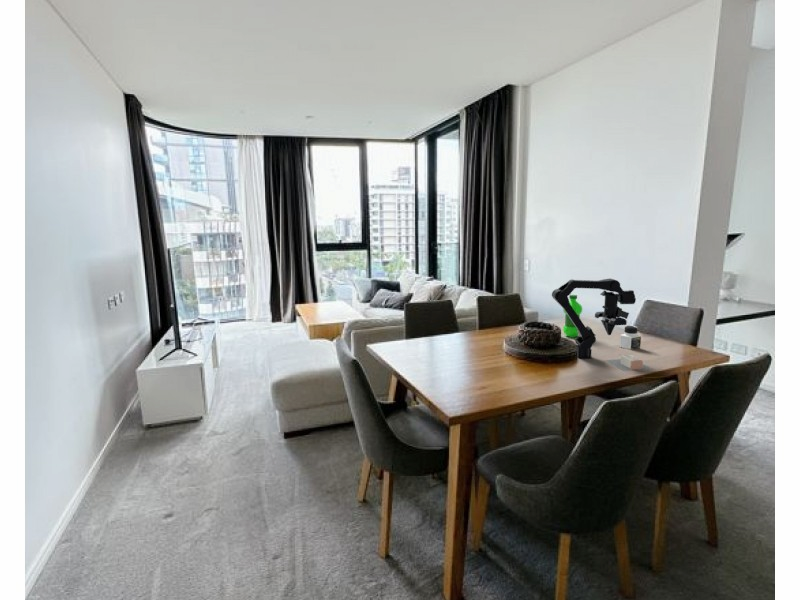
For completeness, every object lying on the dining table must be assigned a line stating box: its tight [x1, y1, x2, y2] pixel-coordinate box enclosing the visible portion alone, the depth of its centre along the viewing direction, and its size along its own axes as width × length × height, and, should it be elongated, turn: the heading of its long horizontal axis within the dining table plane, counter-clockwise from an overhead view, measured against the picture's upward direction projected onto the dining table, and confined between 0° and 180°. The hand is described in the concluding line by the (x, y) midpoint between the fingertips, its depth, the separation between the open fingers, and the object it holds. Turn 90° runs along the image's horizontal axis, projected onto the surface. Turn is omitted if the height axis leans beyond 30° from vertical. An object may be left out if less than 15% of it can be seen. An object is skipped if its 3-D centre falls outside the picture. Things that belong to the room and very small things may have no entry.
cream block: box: [620, 354, 644, 371], centre depth 193 cm, size 5×4×9 cm
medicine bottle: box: [619, 325, 642, 350], centre depth 221 cm, size 7×7×12 cm
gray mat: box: [605, 358, 653, 371], centre depth 196 cm, size 14×15×1 cm
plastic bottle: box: [562, 294, 583, 338], centre depth 247 cm, size 10×10×25 cm
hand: (609, 334), depth 205 cm, fingers closed
